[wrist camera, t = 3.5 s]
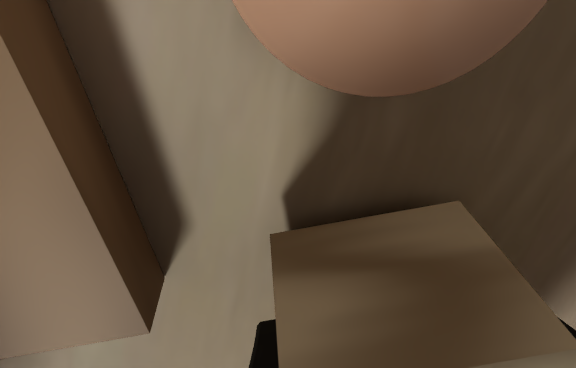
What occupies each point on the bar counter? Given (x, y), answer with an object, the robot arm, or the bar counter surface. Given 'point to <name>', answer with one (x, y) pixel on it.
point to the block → (408, 297)
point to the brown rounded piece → (385, 39)
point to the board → (62, 204)
